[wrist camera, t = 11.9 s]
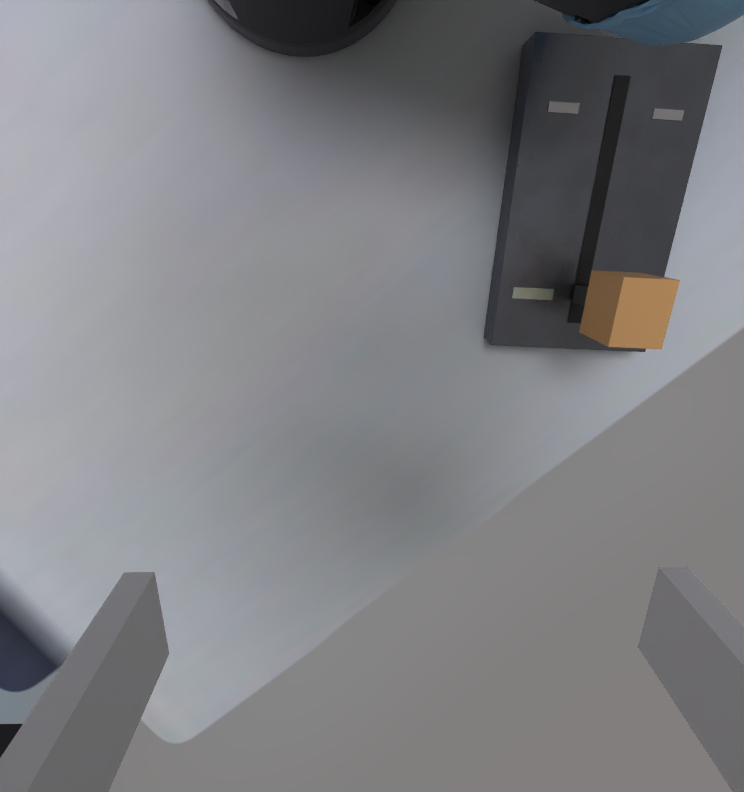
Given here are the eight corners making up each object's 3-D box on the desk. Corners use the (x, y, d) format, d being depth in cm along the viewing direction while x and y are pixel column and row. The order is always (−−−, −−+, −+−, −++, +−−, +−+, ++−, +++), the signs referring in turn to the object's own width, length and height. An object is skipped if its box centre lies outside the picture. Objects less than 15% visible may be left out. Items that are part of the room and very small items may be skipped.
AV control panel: (523, 45, 32) (536, 31, 30) (696, 58, 33) (723, 45, 30) (483, 337, 39) (492, 345, 37) (628, 344, 40) (645, 352, 37)
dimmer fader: (565, 264, 35) (624, 277, 27) (609, 267, 35) (679, 280, 27) (555, 320, 36) (608, 346, 28) (597, 322, 36) (661, 349, 28)
